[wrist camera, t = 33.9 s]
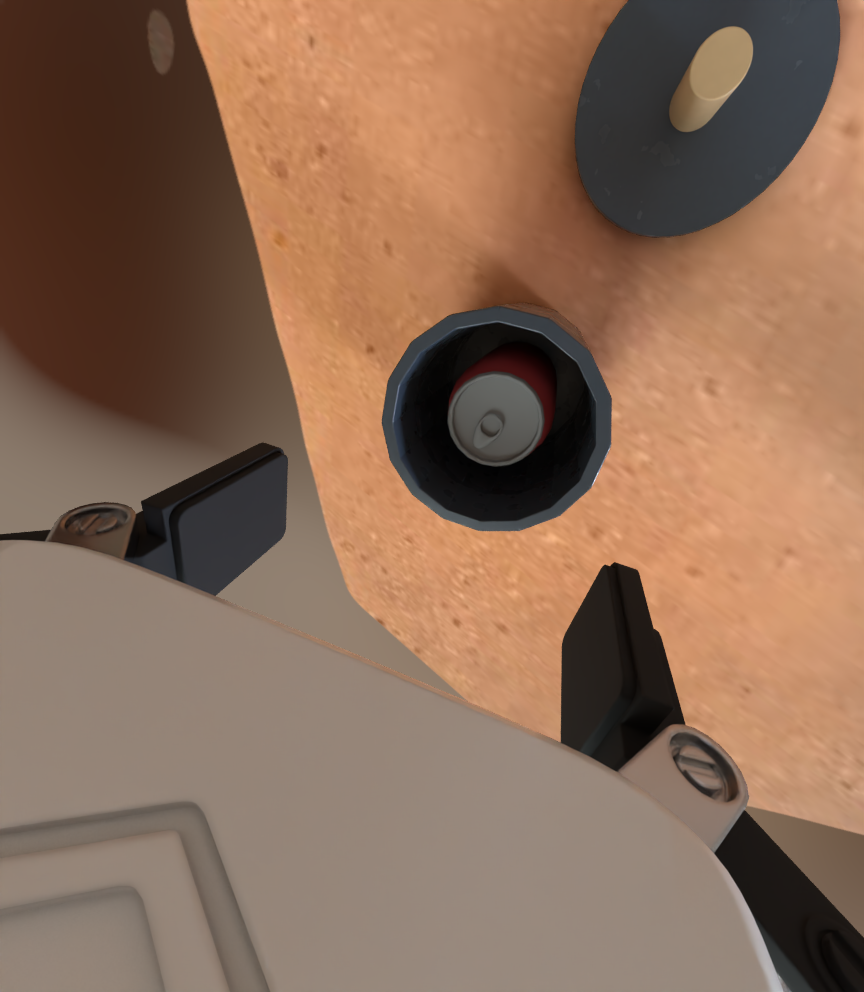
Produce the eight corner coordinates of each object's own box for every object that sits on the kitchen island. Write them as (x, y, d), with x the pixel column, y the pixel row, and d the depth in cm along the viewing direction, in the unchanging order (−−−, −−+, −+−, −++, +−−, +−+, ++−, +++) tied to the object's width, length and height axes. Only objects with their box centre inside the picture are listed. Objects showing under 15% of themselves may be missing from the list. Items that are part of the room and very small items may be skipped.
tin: (466, 287, 32) (402, 280, 19) (618, 325, 30) (658, 345, 17) (434, 428, 37) (369, 493, 25) (560, 467, 36) (558, 558, 23)
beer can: (462, 393, 35) (419, 433, 24) (506, 324, 31) (478, 336, 21) (523, 436, 35) (507, 495, 25) (574, 372, 31) (580, 407, 21)
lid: (628, -65, 22) (646, -171, 17) (891, -38, 20) (998, -148, 15) (545, 217, 28) (542, 200, 23) (739, 258, 26) (779, 249, 21)
